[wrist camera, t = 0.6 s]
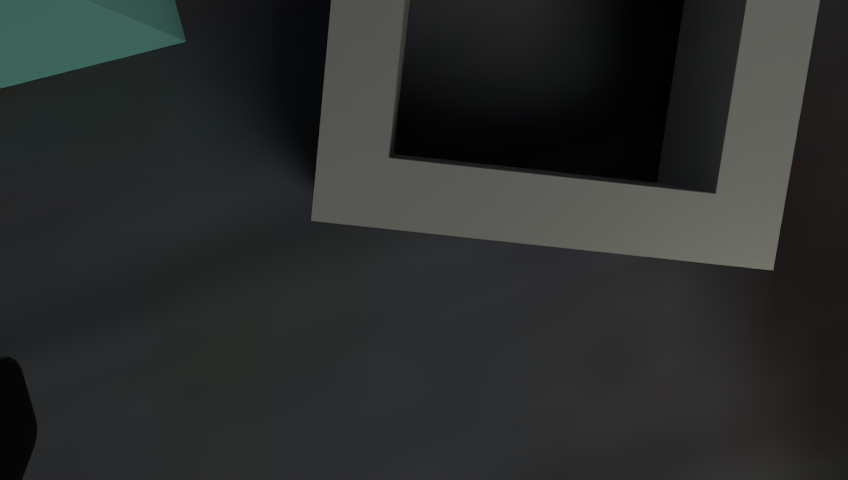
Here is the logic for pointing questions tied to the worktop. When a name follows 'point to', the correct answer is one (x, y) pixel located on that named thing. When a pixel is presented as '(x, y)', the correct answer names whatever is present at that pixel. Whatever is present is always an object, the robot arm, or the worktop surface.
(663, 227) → the socket block
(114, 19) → the teal peg
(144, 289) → the worktop surface
